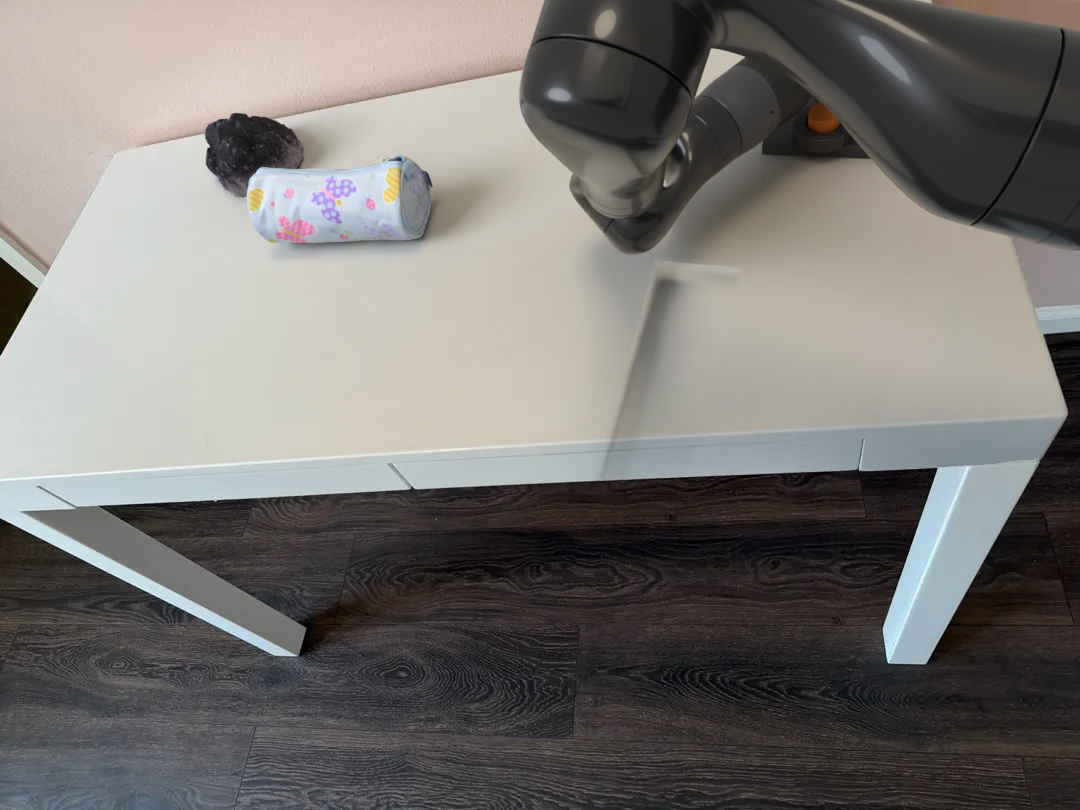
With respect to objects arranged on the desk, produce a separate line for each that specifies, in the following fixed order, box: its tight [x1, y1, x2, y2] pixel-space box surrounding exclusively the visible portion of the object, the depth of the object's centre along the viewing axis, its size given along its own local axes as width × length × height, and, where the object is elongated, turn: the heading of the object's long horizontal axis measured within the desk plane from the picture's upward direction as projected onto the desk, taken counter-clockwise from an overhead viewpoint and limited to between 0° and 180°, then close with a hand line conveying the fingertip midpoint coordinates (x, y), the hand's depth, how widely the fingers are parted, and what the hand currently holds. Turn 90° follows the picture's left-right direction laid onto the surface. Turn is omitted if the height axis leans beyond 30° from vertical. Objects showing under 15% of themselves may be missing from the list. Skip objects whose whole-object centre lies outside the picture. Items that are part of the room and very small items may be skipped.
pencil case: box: [246, 154, 434, 244], centre depth 89 cm, size 21×9×10 cm, turn 81°
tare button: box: [808, 102, 840, 133], centre depth 80 cm, size 3×3×2 cm
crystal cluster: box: [204, 112, 304, 198], centre depth 102 cm, size 13×14×10 cm
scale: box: [761, 96, 871, 159], centre depth 83 cm, size 12×15×3 cm
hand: (864, 14), depth 78 cm, fingers closed on pill bottle, 5 cm apart
